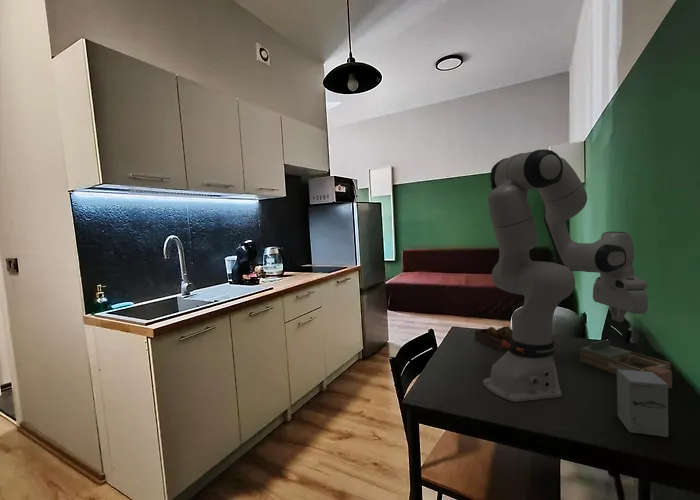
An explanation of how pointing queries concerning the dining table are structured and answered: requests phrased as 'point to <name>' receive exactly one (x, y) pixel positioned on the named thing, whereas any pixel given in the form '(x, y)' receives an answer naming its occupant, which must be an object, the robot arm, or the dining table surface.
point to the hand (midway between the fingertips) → (617, 320)
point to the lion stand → (490, 340)
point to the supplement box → (642, 402)
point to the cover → (605, 349)
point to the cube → (661, 374)
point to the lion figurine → (500, 332)
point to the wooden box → (622, 362)
